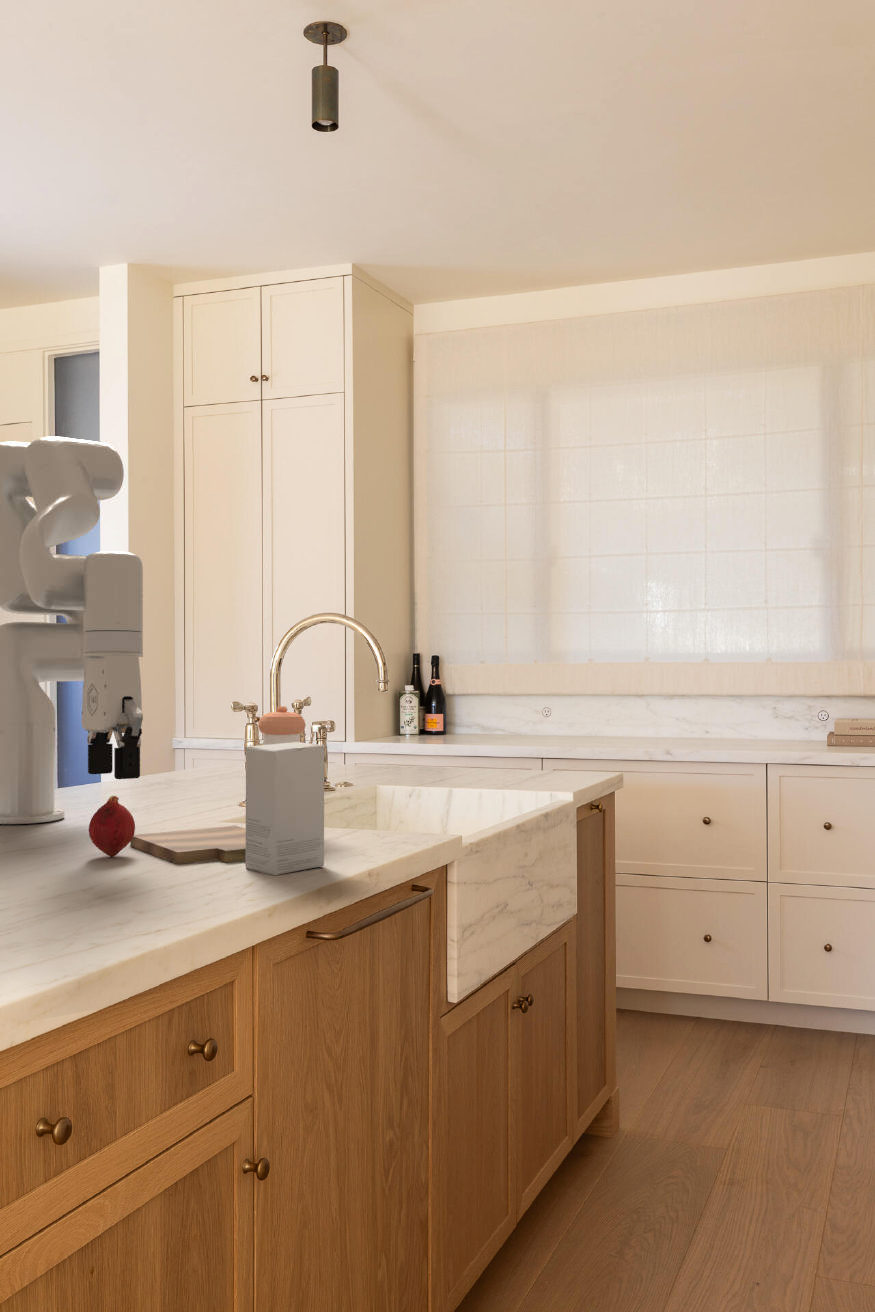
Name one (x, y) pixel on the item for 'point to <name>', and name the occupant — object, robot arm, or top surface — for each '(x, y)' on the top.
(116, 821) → the onion
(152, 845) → the board
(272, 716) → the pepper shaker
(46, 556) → the robot arm
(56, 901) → the top surface
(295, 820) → the skincare box
